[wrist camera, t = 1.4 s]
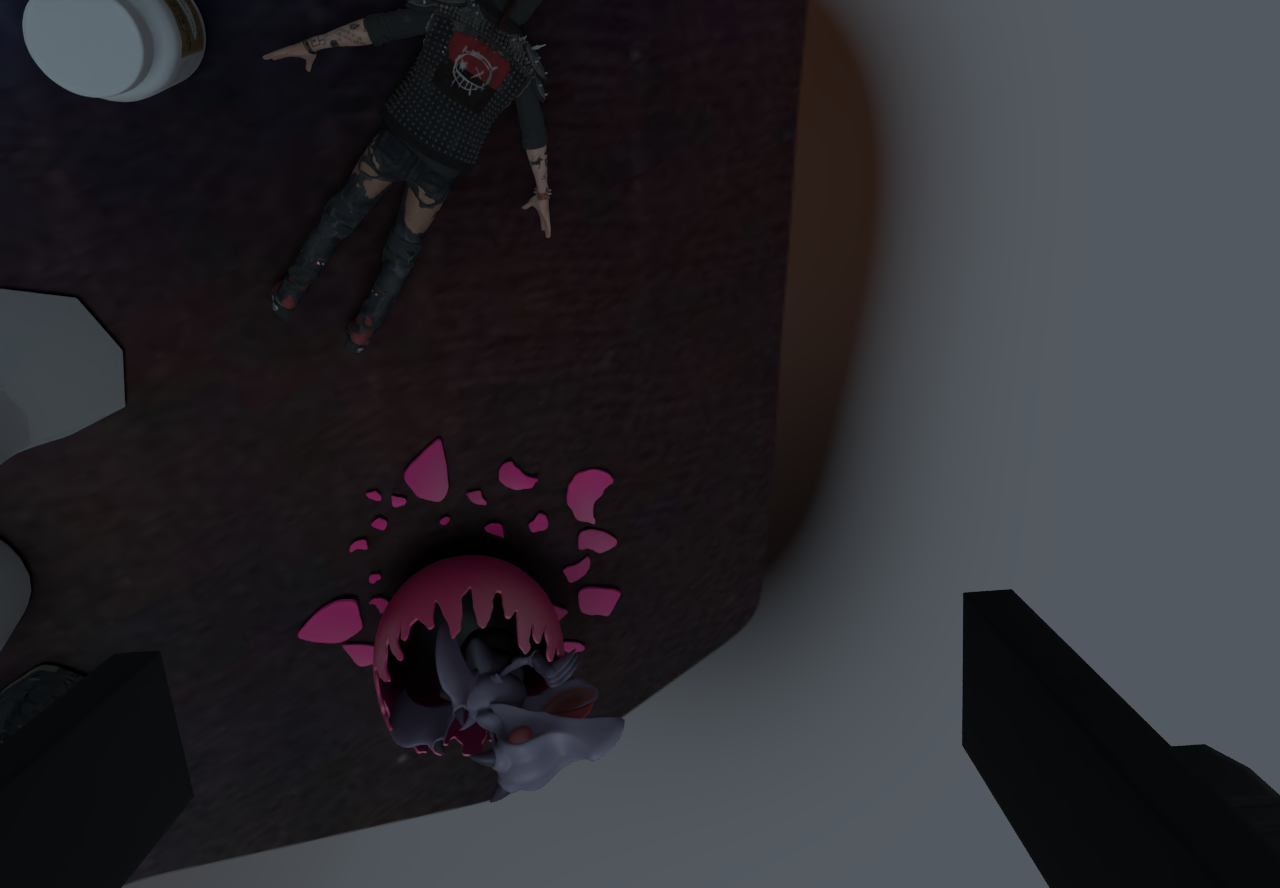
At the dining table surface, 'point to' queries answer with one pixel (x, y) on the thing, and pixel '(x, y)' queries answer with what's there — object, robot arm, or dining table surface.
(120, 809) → the robot arm
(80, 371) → the flask
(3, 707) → the camera
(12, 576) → the cup
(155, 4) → the pill bottle
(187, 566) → the dining table surface
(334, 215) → the figurine
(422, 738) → the hatching egg
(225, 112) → the dining table surface
